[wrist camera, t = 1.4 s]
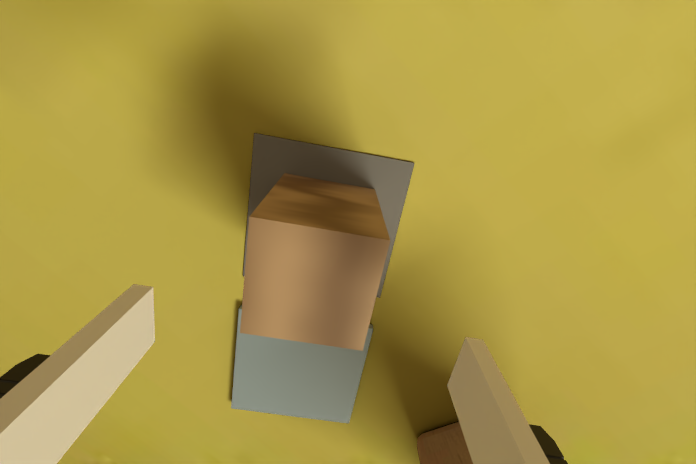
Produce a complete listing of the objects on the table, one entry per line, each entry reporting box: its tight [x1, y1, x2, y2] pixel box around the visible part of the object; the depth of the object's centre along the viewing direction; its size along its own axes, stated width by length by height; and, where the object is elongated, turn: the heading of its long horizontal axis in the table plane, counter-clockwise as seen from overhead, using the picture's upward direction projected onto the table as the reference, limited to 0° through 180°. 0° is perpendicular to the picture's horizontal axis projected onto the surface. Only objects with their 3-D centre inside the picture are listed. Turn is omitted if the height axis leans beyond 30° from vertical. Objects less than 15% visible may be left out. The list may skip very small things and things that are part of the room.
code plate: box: [243, 133, 414, 298], centre depth 27 cm, size 12×12×1 cm
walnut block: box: [240, 173, 390, 351], centre depth 23 cm, size 7×7×10 cm
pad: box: [231, 305, 373, 423], centre depth 33 cm, size 12×12×1 cm
